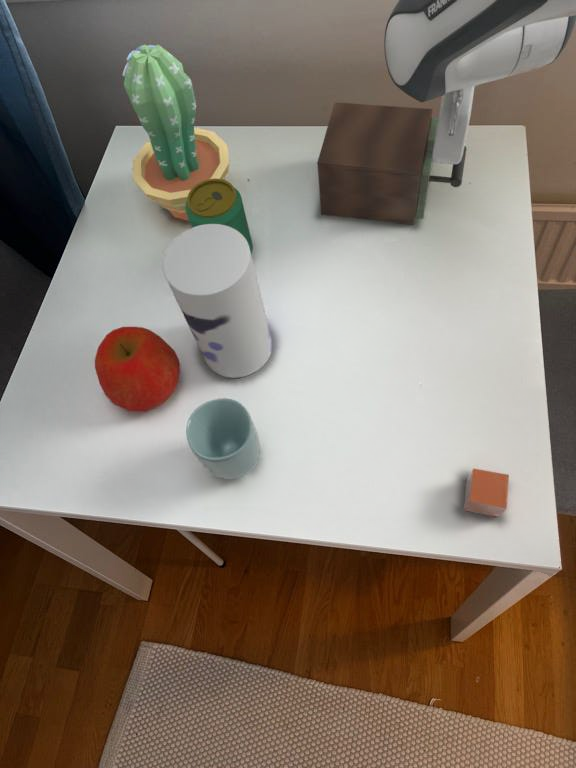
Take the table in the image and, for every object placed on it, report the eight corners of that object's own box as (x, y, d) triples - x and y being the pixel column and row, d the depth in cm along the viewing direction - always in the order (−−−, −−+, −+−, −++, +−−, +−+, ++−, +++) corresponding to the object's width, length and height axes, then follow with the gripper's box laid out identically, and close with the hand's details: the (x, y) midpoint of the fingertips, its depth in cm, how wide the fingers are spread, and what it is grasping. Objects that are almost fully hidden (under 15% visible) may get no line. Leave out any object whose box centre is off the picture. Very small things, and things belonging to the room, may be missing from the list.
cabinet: (424, 165, 94) (432, 108, 85) (414, 224, 89) (421, 171, 79) (336, 157, 97) (334, 102, 87) (321, 214, 92) (317, 162, 82)
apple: (198, 362, 82) (178, 322, 72) (163, 430, 78) (137, 396, 68) (133, 341, 84) (105, 300, 75) (96, 405, 80) (62, 369, 71)
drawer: (461, 166, 92) (471, 119, 84) (454, 221, 87) (463, 177, 79) (349, 157, 95) (348, 111, 88) (335, 209, 91) (334, 165, 83)
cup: (211, 494, 73) (192, 469, 64) (199, 438, 77) (179, 408, 68) (271, 476, 73) (259, 449, 64) (256, 422, 77) (243, 389, 68)
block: (501, 484, 70) (509, 474, 66) (498, 517, 68) (506, 508, 65) (467, 478, 71) (473, 468, 67) (463, 510, 69) (469, 501, 65)
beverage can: (264, 253, 89) (251, 196, 79) (223, 283, 88) (205, 228, 77) (233, 225, 93) (217, 166, 82) (193, 253, 91) (171, 197, 80)
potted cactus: (246, 166, 98) (215, 18, 76) (229, 238, 91) (189, 98, 69) (160, 164, 100) (104, 19, 78) (137, 233, 94) (69, 97, 72)
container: (193, 369, 81) (147, 284, 64) (217, 311, 85) (181, 216, 68) (260, 385, 79) (232, 301, 61) (281, 324, 83) (261, 230, 65)
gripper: (485, 108, 64) (463, 199, 77) (499, -3, 73) (477, 94, 85) (428, 104, 65) (415, 194, 78) (448, -5, 74) (434, 91, 86)
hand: (448, 141), depth 82 cm, fingers closed
